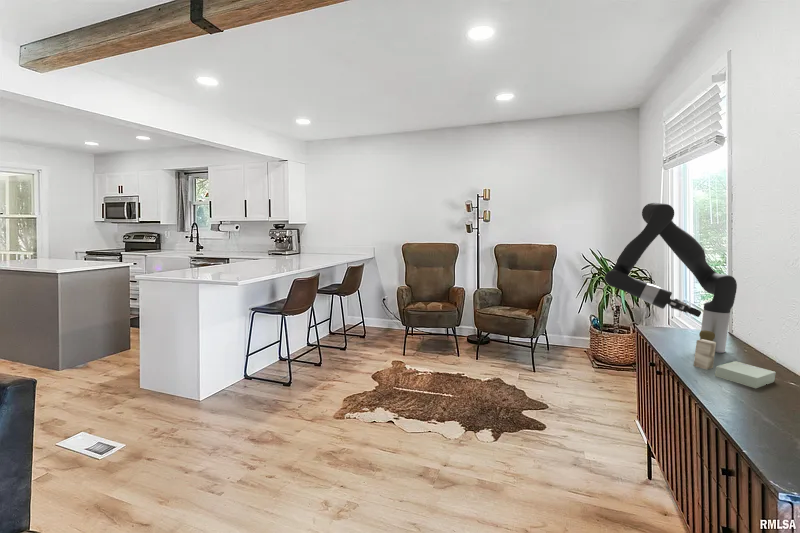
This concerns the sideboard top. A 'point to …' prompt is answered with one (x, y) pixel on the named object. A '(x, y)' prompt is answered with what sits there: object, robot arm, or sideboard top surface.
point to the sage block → (745, 374)
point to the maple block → (704, 354)
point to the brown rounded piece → (706, 335)
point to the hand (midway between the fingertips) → (700, 314)
